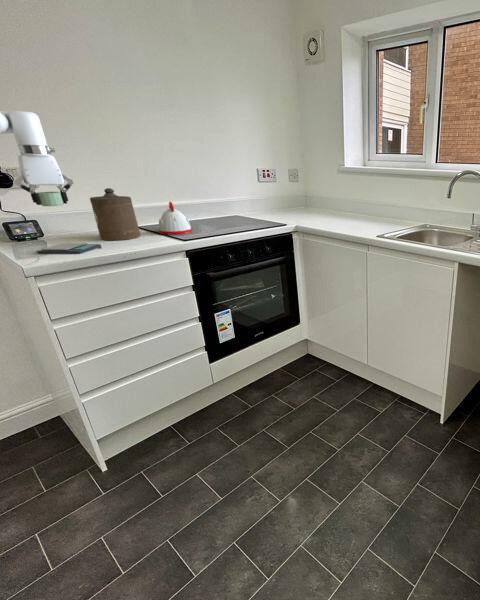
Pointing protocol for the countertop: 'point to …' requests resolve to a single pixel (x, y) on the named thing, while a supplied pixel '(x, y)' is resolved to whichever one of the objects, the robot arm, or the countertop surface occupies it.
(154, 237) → the countertop surface
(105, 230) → the wooden container
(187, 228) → the white dome
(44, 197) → the bowl
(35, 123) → the robot arm
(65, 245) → the scale
